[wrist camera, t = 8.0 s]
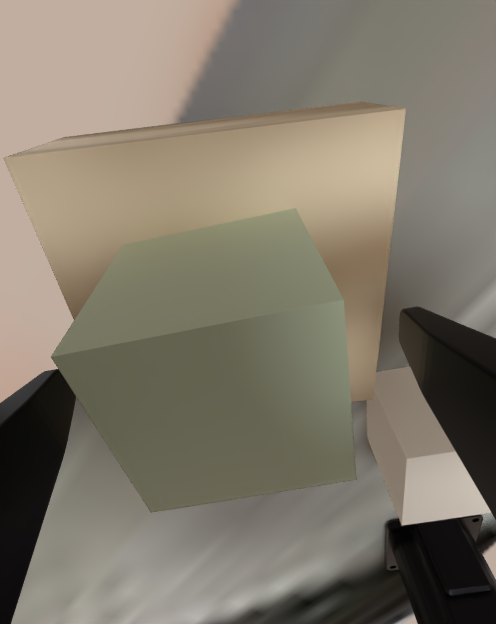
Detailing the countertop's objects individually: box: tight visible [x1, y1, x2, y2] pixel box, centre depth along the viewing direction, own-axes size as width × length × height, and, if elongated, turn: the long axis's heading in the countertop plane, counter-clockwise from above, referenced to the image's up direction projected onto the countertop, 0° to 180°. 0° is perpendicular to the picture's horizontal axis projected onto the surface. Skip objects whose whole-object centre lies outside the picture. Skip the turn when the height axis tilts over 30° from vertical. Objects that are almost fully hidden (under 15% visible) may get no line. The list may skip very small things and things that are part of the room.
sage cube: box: [51, 208, 357, 512], centre depth 9 cm, size 5×5×5 cm
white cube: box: [367, 366, 491, 526], centre depth 17 cm, size 5×5×5 cm
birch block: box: [4, 102, 406, 402], centre depth 13 cm, size 10×10×4 cm
